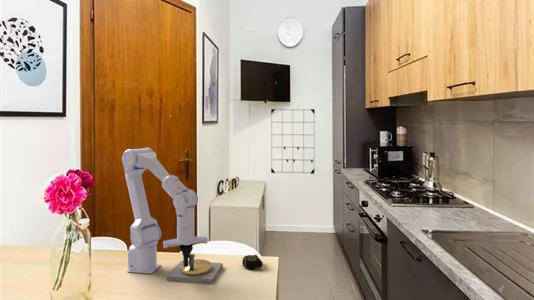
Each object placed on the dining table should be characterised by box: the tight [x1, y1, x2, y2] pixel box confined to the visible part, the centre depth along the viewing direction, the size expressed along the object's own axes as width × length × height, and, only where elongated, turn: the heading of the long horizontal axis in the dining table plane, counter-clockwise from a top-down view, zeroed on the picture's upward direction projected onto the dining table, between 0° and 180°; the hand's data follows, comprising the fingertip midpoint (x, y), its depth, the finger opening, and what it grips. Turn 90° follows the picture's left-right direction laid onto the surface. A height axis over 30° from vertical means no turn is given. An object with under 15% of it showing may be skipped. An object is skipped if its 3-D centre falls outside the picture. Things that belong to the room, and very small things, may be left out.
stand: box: [165, 260, 224, 285], centre depth 128 cm, size 16×14×2 cm
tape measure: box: [241, 254, 263, 270], centre depth 134 cm, size 7×7×4 cm
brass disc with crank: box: [180, 253, 212, 276], centre depth 127 cm, size 11×11×7 cm
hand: (185, 265), depth 122 cm, fingers closed
